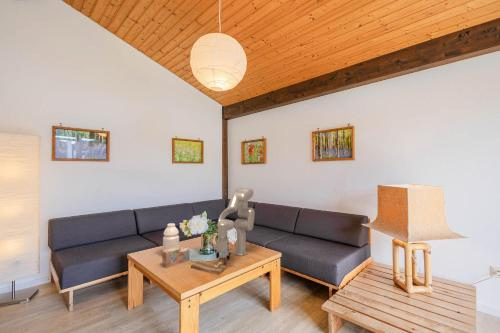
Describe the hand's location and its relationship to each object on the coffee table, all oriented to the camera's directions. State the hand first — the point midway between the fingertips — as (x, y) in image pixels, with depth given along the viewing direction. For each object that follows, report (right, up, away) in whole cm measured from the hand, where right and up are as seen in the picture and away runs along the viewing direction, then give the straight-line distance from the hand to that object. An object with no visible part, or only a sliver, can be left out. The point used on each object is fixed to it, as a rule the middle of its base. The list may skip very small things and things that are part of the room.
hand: (223, 258), depth 189 cm
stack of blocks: (-39, -5, +4) cm, 40 cm away
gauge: (-2, -6, -5) cm, 8 cm away
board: (-11, -5, -5) cm, 13 cm away
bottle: (-49, -5, +21) cm, 53 cm away
